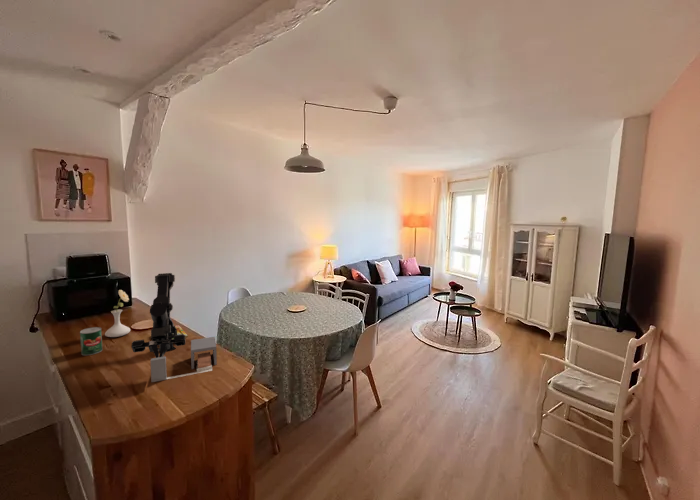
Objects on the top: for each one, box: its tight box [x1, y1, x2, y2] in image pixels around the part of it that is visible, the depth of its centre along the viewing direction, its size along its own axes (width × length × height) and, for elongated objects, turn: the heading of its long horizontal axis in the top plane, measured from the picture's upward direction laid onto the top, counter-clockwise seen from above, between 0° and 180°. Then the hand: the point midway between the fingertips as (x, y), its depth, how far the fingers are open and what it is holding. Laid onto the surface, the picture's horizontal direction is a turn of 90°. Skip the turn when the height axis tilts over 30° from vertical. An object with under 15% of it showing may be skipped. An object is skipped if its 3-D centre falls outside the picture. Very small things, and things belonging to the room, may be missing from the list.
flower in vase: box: [104, 289, 131, 338], centre depth 166 cm, size 13×11×25 cm
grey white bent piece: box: [149, 355, 213, 383], centre depth 127 cm, size 9×22×10 cm, turn 117°
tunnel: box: [190, 336, 218, 370], centre depth 137 cm, size 12×10×10 cm
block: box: [197, 351, 212, 368], centre depth 132 cm, size 5×5×5 cm
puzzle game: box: [173, 324, 189, 339], centre depth 163 cm, size 12×5×20 cm
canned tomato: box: [79, 326, 103, 356], centre depth 145 cm, size 8×8×11 cm
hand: (158, 362), depth 121 cm, fingers closed, pressing on grey white bent piece
